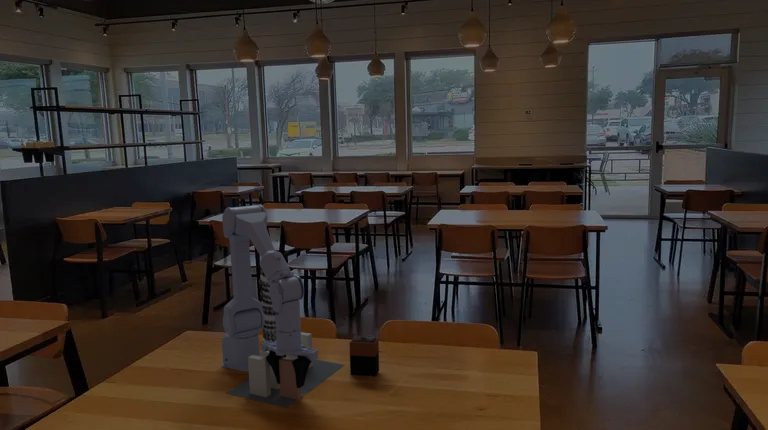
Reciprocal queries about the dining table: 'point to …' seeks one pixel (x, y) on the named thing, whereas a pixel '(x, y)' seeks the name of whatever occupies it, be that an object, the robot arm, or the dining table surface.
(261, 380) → the domino
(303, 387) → the mat
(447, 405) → the dining table surface
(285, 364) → the domino
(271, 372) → the domino
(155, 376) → the dining table surface
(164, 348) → the dining table surface
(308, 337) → the domino
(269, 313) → the decorative candle
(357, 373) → the battery
